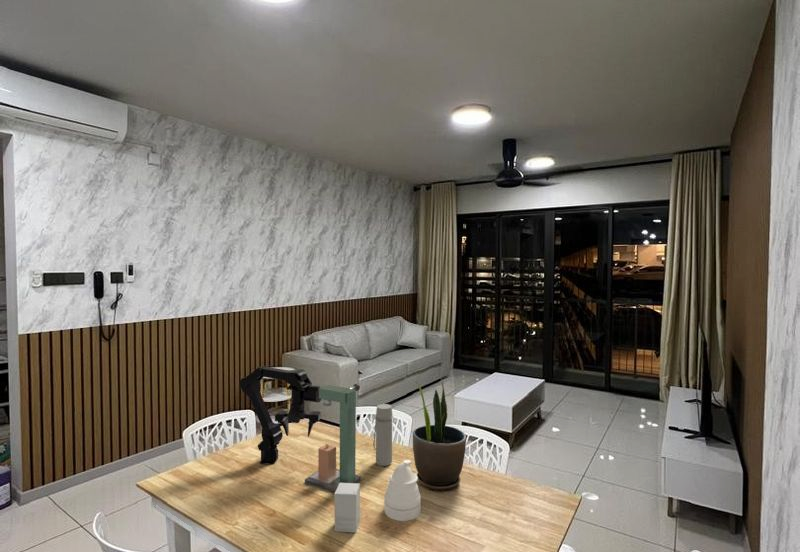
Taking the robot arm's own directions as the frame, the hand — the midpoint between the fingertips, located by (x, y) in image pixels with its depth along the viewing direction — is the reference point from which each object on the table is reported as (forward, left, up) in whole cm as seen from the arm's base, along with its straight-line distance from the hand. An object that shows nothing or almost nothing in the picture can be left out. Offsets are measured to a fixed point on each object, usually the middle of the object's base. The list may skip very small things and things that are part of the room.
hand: (298, 435), depth 182 cm
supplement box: (+28, -41, -13) cm, 51 cm away
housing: (+15, -11, -11) cm, 22 cm away
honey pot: (+46, -31, -13) cm, 57 cm away
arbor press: (+19, -9, -13) cm, 25 cm away
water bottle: (+36, +5, -13) cm, 39 cm away
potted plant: (+60, -10, -13) cm, 62 cm away
